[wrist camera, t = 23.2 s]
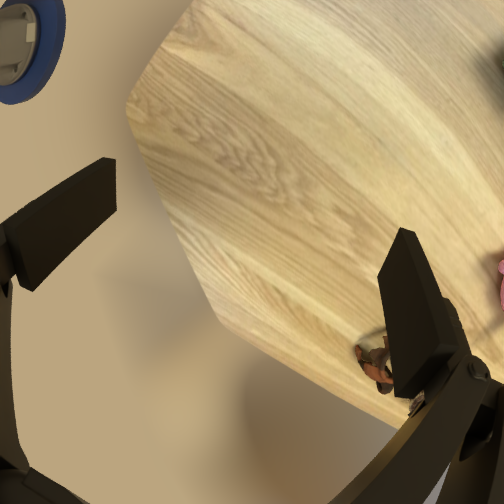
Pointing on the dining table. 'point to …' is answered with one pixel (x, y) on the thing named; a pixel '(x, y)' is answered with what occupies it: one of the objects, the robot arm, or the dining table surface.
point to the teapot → (502, 268)
